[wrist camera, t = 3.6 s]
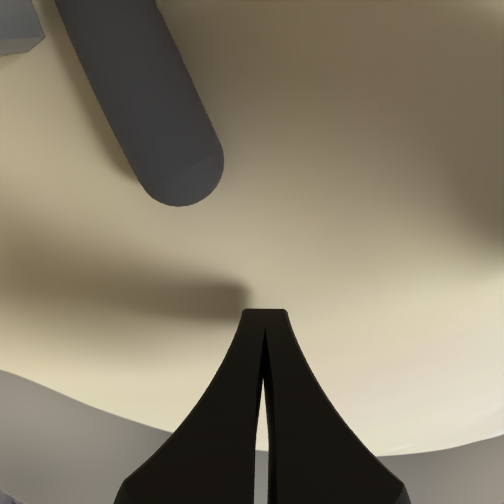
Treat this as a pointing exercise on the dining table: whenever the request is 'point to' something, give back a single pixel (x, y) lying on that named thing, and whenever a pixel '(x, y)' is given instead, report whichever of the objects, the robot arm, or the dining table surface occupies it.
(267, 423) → the robot arm
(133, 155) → the dark grey rounded rod
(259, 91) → the dining table surface
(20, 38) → the grey angled bars
